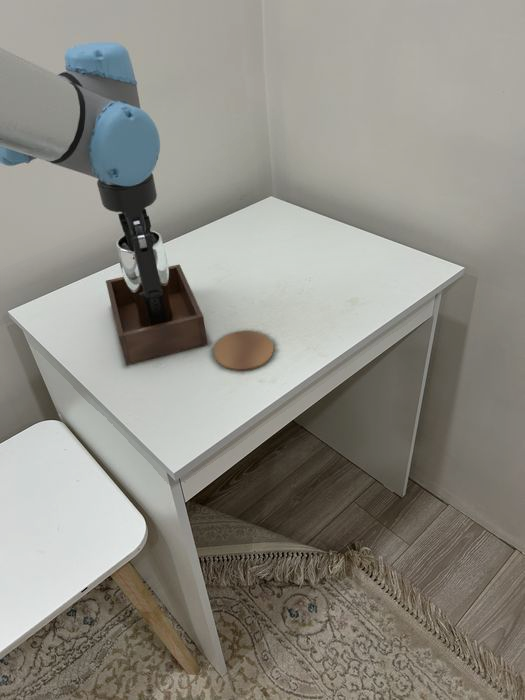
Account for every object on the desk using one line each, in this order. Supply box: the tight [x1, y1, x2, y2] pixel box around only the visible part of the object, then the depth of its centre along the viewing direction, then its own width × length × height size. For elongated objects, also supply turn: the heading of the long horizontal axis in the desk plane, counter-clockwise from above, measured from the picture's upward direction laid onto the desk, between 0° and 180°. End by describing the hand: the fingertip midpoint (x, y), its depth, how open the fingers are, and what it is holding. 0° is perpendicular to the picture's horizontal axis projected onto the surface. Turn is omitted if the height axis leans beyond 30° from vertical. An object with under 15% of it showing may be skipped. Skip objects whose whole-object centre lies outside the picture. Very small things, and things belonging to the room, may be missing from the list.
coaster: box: [213, 330, 274, 372], centre depth 82 cm, size 9×9×1 cm
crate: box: [105, 264, 209, 366], centre depth 87 cm, size 13×17×5 cm
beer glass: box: [115, 229, 176, 329], centre depth 84 cm, size 7×7×15 cm
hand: (155, 314), depth 88 cm, fingers closed on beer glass, 6 cm apart
